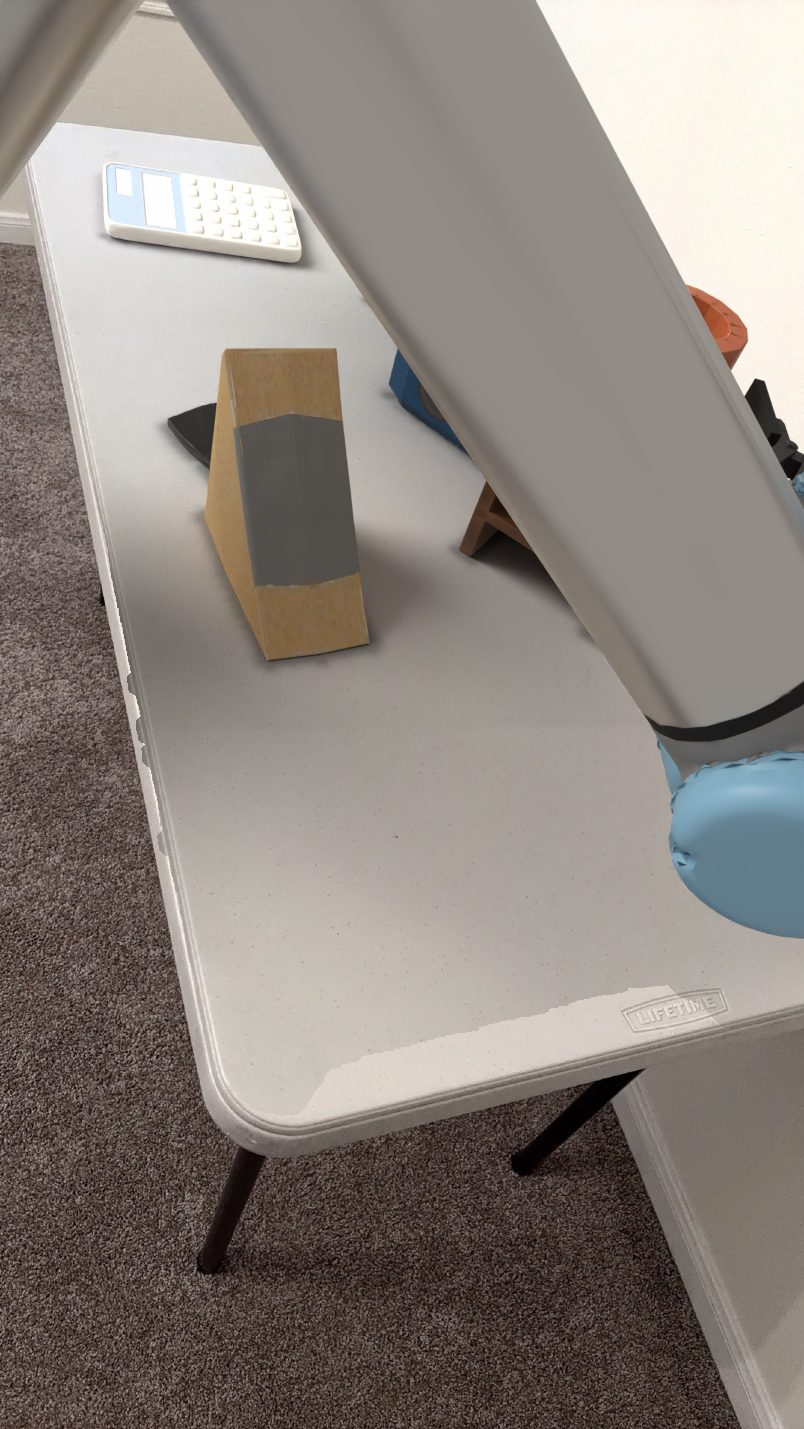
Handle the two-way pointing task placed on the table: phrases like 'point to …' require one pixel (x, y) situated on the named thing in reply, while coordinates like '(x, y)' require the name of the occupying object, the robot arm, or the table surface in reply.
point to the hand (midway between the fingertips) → (662, 371)
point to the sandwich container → (286, 500)
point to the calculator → (199, 213)
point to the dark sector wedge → (196, 431)
